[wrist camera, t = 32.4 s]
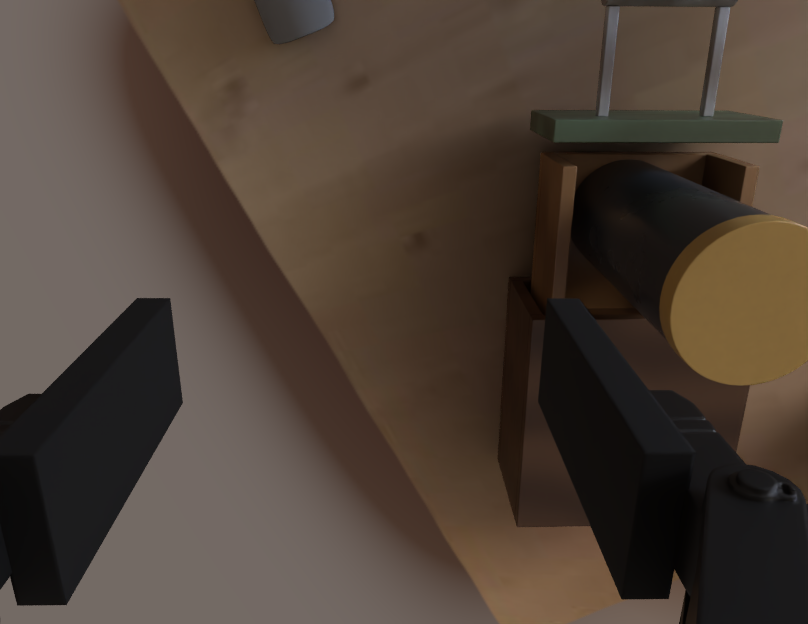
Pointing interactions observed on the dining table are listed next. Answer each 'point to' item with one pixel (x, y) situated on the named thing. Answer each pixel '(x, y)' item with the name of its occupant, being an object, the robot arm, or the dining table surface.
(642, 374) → the cabinet
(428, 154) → the dining table surface
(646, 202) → the tea tin
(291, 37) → the half round rod
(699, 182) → the drawer
